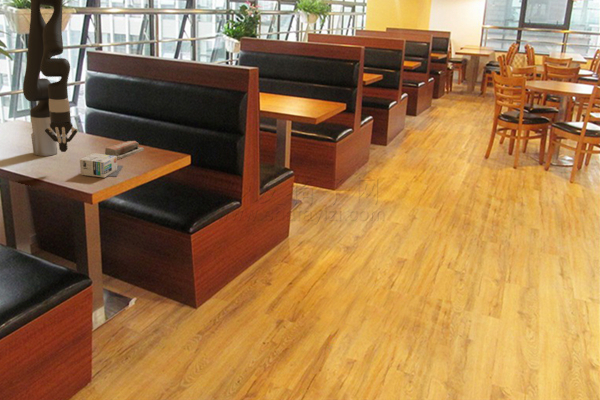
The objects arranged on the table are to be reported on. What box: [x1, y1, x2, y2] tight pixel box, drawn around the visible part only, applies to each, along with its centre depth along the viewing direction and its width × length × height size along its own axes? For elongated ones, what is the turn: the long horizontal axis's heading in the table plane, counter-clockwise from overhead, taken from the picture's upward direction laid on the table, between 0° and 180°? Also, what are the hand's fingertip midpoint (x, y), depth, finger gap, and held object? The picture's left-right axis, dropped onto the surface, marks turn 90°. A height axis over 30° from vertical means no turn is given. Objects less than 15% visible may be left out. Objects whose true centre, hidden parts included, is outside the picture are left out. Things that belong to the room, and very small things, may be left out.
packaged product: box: [103, 140, 145, 160], centre depth 259 cm, size 18×5×10 cm
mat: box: [85, 164, 124, 177], centre depth 234 cm, size 12×14×1 cm
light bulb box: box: [79, 152, 118, 179], centre depth 229 cm, size 11×7×11 cm
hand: (63, 151), depth 229 cm, fingers closed
